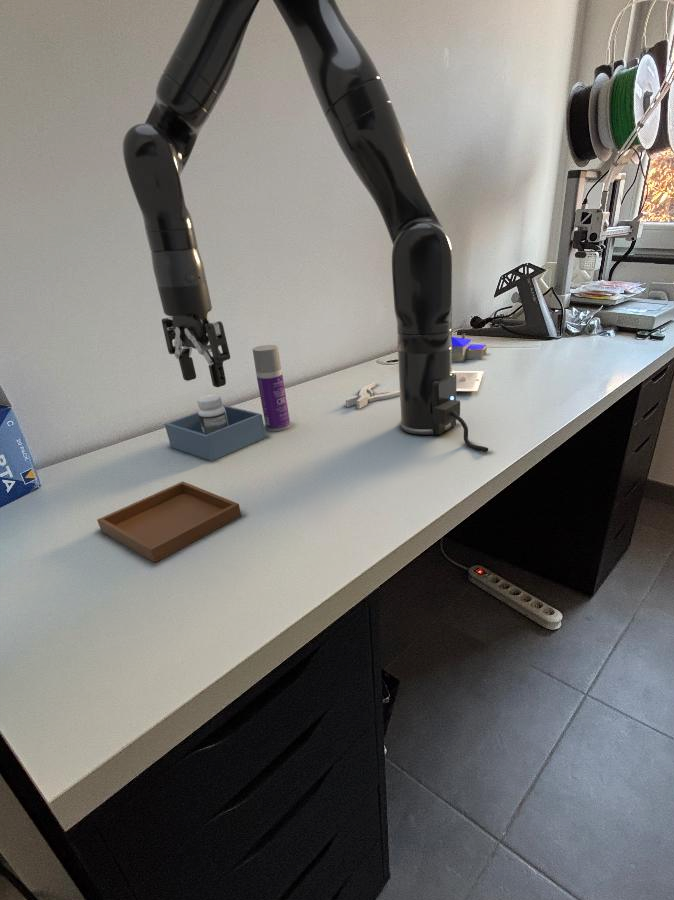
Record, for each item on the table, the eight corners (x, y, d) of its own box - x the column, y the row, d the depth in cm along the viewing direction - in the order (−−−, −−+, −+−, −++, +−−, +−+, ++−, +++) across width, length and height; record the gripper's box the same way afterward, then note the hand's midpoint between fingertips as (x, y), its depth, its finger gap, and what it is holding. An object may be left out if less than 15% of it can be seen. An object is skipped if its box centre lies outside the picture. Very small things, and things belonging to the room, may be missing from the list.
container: (285, 431, 100) (272, 350, 92) (262, 431, 101) (247, 351, 93) (293, 422, 104) (282, 344, 96) (271, 422, 105) (258, 344, 97)
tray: (241, 515, 73) (238, 503, 72) (155, 562, 64) (150, 549, 63) (185, 492, 80) (182, 481, 79) (101, 531, 71) (96, 519, 70)
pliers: (409, 382, 117) (371, 403, 106) (409, 389, 118) (372, 410, 107) (372, 378, 122) (332, 397, 111) (373, 385, 123) (333, 404, 112)
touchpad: (440, 395, 113) (440, 385, 112) (450, 375, 125) (450, 366, 124) (477, 396, 111) (477, 386, 110) (483, 376, 123) (483, 366, 122)
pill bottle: (208, 438, 99) (198, 394, 95) (233, 436, 99) (224, 392, 95) (203, 448, 95) (191, 403, 91) (229, 446, 95) (219, 401, 91)
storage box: (266, 437, 98) (261, 414, 96) (211, 461, 90) (205, 436, 87) (225, 425, 105) (220, 403, 102) (170, 447, 96) (164, 423, 94)
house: (476, 365, 132) (477, 342, 129) (422, 363, 137) (421, 341, 134) (486, 354, 141) (487, 332, 138) (435, 352, 146) (434, 331, 143)
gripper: (229, 279, 82) (248, 382, 90) (176, 277, 90) (198, 372, 98) (187, 286, 77) (211, 394, 85) (136, 283, 85) (162, 382, 93)
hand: (204, 382), depth 92 cm, fingers open, 8 cm apart
